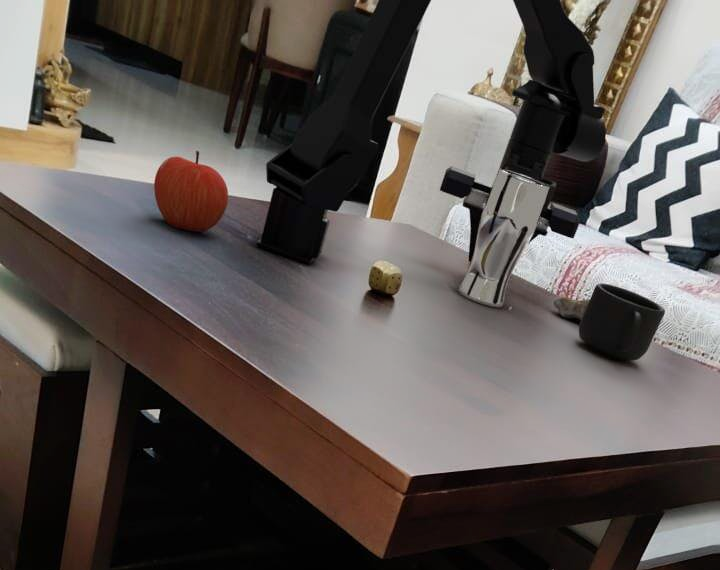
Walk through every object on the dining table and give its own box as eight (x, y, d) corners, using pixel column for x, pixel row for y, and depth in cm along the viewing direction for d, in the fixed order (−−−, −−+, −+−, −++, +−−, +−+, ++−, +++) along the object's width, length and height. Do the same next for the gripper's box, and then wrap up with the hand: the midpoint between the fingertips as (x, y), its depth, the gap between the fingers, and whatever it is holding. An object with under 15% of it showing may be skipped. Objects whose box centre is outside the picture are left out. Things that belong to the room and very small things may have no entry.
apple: (150, 227, 106) (165, 147, 102) (146, 209, 112) (159, 133, 108) (223, 246, 109) (240, 170, 105) (215, 227, 115) (231, 154, 111)
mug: (567, 331, 128) (591, 277, 124) (632, 353, 129) (656, 299, 125) (582, 358, 117) (608, 299, 114) (652, 381, 119) (679, 324, 115)
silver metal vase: (503, 313, 125) (551, 189, 117) (452, 293, 125) (496, 169, 117) (507, 303, 131) (552, 185, 123) (457, 284, 131) (499, 165, 123)
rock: (631, 337, 138) (577, 296, 141) (652, 301, 134) (596, 260, 136) (598, 354, 133) (543, 311, 136) (619, 317, 128) (562, 273, 131)
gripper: (460, 124, 120) (418, 253, 128) (604, 177, 121) (553, 302, 129) (462, 119, 129) (423, 240, 137) (595, 168, 131) (548, 285, 139)
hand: (486, 267), depth 135 cm, fingers closed on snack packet, 4 cm apart
